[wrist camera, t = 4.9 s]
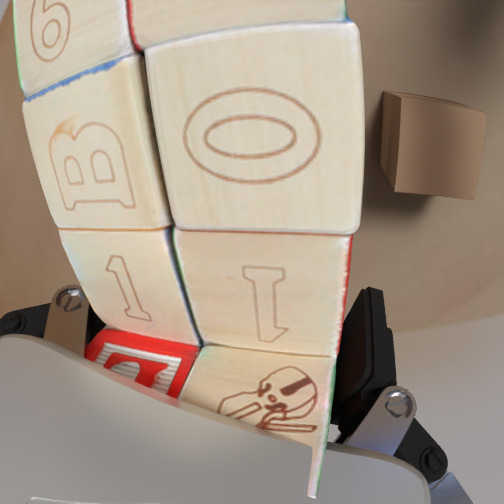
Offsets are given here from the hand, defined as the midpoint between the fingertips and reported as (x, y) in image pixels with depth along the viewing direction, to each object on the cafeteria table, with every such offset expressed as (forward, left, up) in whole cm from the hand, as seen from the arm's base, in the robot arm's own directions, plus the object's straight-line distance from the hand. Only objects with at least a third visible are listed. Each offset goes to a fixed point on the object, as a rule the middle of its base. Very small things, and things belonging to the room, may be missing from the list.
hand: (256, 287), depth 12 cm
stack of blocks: (0, 0, -5) cm, 5 cm away
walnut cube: (-7, -6, -12) cm, 15 cm away
